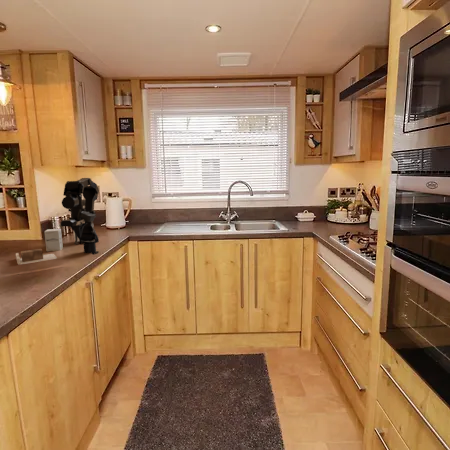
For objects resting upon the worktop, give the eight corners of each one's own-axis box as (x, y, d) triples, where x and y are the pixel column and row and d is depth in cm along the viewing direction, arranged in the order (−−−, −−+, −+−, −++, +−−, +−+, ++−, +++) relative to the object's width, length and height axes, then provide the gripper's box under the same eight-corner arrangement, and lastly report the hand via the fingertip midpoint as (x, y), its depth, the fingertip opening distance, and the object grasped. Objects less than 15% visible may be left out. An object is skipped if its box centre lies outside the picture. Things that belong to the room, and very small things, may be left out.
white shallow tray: (53, 255, 174) (52, 248, 173) (57, 260, 164) (56, 252, 163) (16, 261, 164) (15, 253, 164) (18, 267, 154) (17, 258, 153)
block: (41, 248, 166) (20, 251, 161) (42, 250, 163) (21, 253, 158) (42, 257, 167) (21, 260, 162) (43, 258, 164) (22, 262, 158)
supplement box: (46, 253, 179) (43, 231, 177) (49, 250, 186) (47, 229, 184) (60, 252, 181) (58, 230, 179) (63, 249, 188) (61, 228, 186)
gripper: (79, 208, 147) (83, 242, 150) (101, 204, 166) (104, 234, 168) (58, 209, 149) (61, 241, 152) (82, 204, 167) (84, 234, 170)
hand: (79, 237), depth 160 cm, fingers closed
